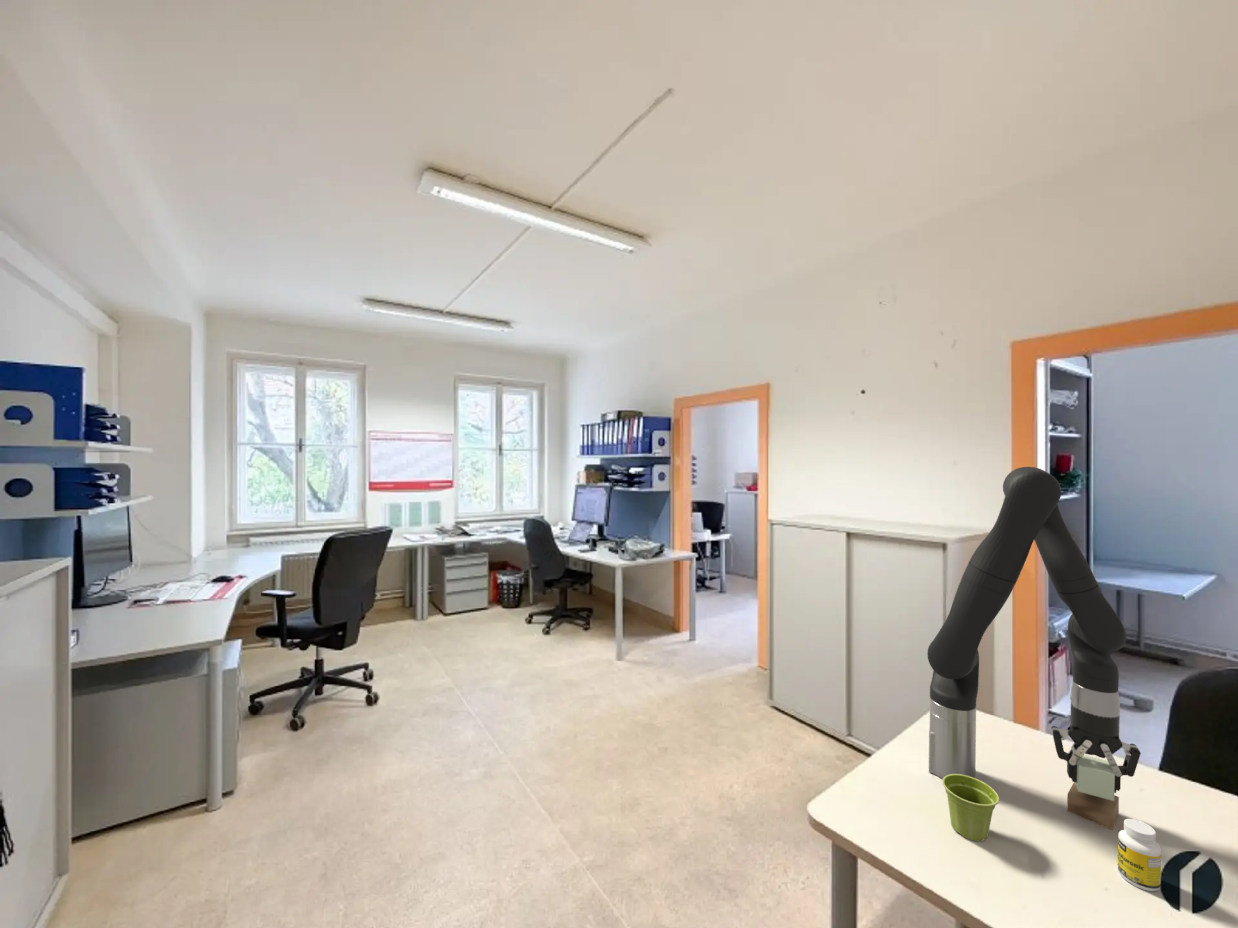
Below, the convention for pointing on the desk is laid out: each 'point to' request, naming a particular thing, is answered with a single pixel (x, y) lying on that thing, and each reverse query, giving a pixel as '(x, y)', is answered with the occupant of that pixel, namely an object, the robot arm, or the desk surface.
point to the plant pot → (970, 805)
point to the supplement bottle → (1139, 855)
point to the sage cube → (1095, 777)
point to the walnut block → (1093, 807)
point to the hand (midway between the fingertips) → (1093, 784)
